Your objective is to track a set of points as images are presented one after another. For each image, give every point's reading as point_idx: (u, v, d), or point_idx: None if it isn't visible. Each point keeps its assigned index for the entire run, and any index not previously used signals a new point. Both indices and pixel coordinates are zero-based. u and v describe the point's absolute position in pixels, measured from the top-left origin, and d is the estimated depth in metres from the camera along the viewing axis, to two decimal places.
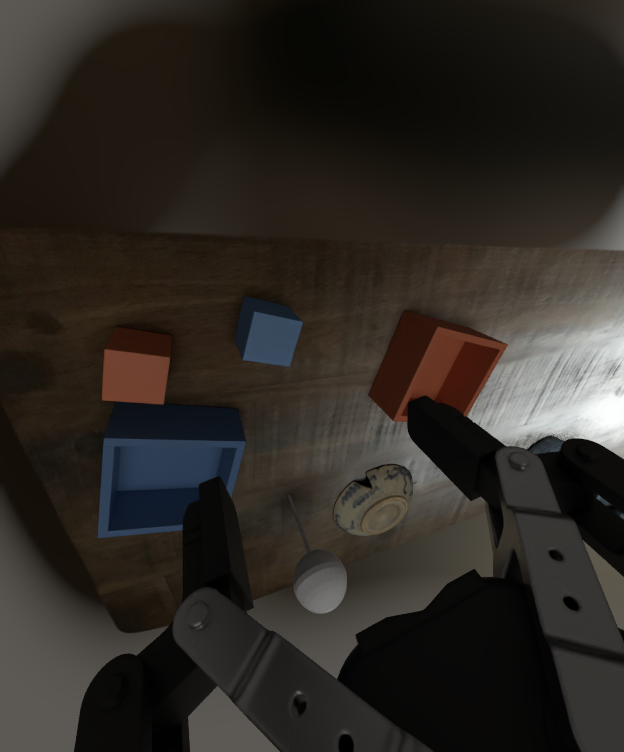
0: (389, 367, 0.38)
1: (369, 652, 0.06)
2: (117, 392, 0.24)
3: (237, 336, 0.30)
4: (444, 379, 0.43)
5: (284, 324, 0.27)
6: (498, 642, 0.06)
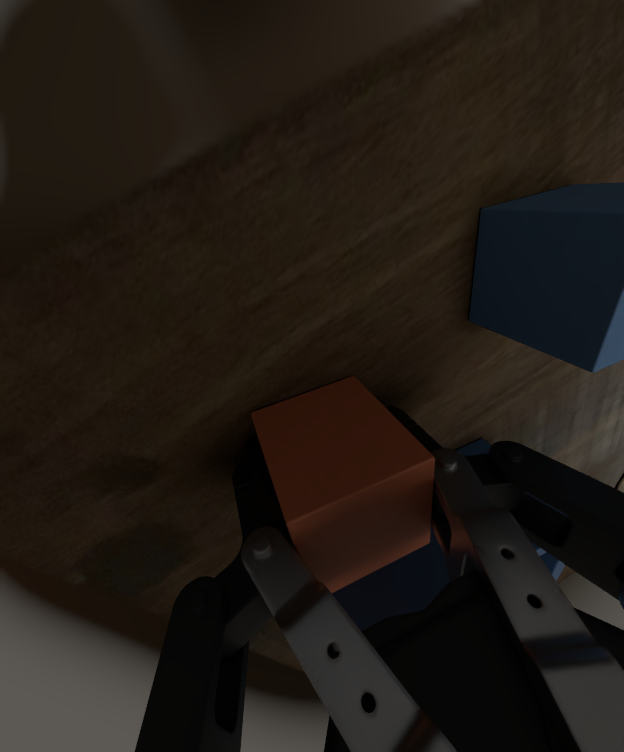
0: None
1: None
2: (341, 575, 0.10)
3: (491, 313, 0.12)
4: None
5: None
6: (498, 642, 0.06)
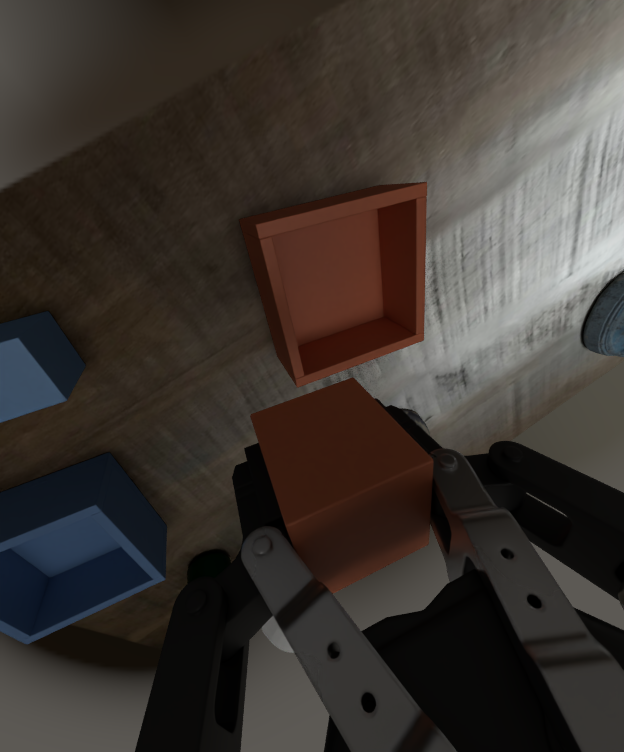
0: (267, 312, 0.25)
1: None
2: (340, 577, 0.10)
3: None
4: (379, 283, 0.28)
5: None
6: (498, 642, 0.06)
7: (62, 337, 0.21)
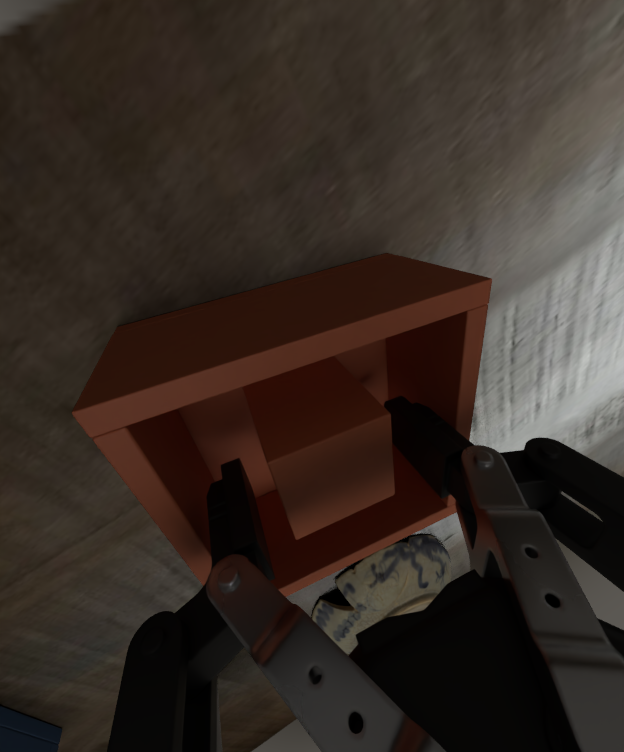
0: None
1: (369, 652, 0.06)
2: (317, 517, 0.12)
3: None
4: (385, 400, 0.17)
5: None
6: (498, 642, 0.06)
7: None
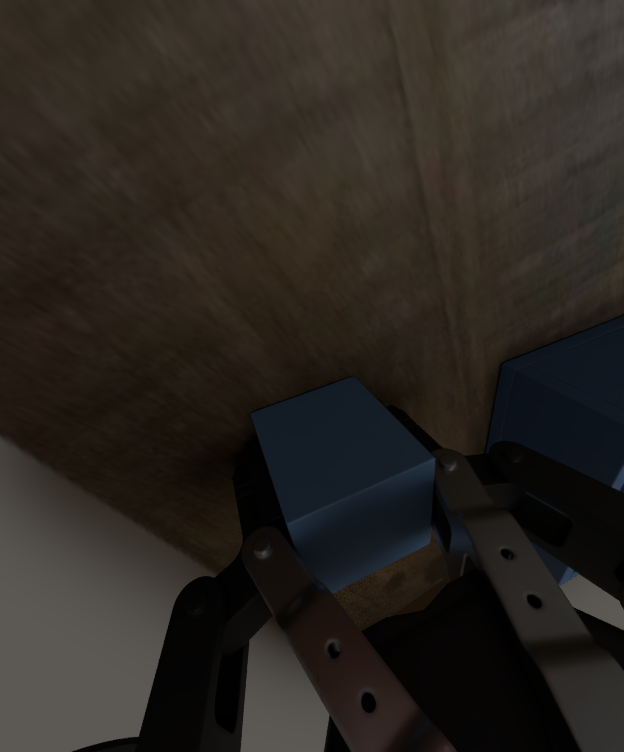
0: None
1: None
2: None
3: None
4: None
5: (318, 548, 0.09)
6: (498, 642, 0.06)
7: (299, 405, 0.12)
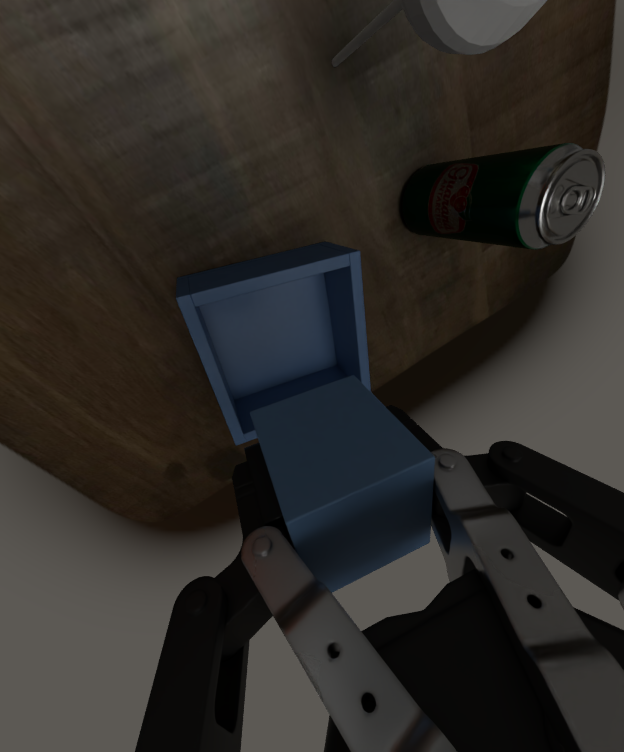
0: None
1: None
2: None
3: None
4: None
5: (317, 547, 0.09)
6: (498, 642, 0.06)
7: (298, 403, 0.12)
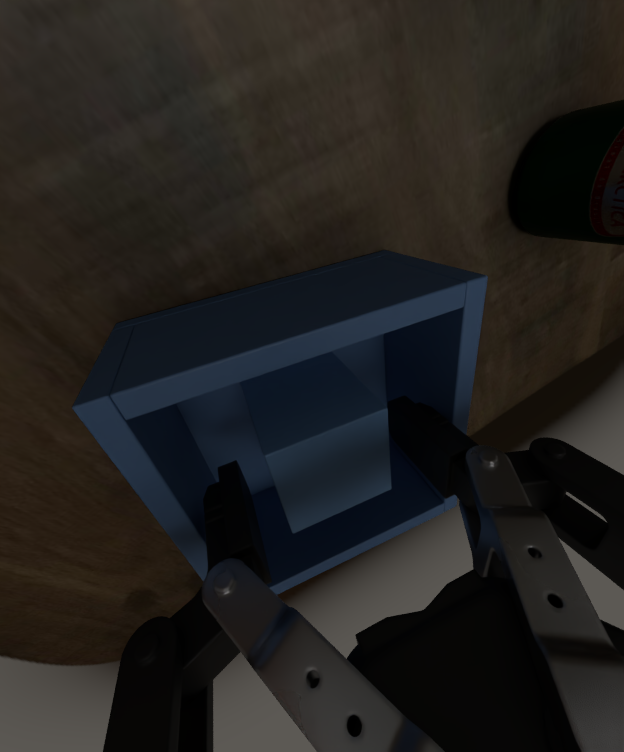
0: None
1: (369, 652, 0.06)
2: None
3: None
4: None
5: (292, 481, 0.11)
6: (498, 642, 0.06)
7: (281, 373, 0.14)
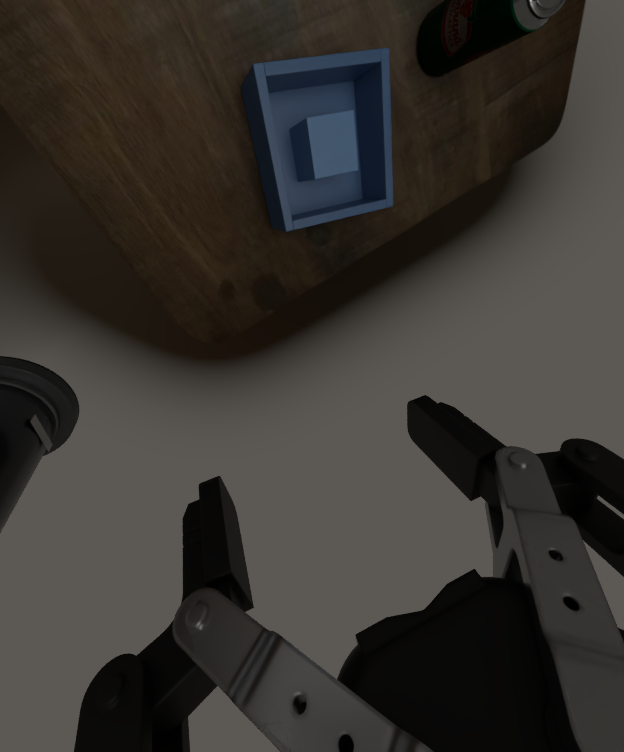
0: None
1: (369, 653, 0.06)
2: None
3: None
4: None
5: (316, 139, 0.27)
6: (498, 642, 0.06)
7: None
